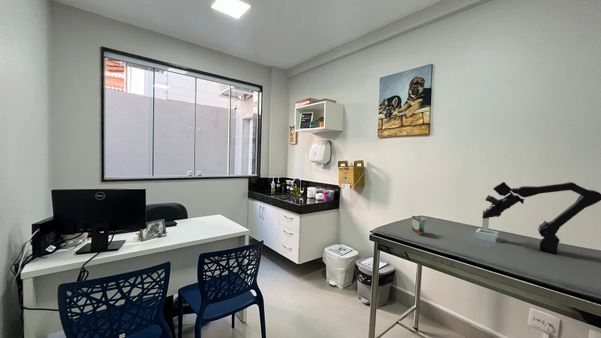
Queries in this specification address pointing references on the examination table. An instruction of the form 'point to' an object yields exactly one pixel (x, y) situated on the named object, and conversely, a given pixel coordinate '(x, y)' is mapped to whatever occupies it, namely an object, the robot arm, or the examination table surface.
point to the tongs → (485, 220)
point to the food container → (418, 225)
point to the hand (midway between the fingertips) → (483, 217)
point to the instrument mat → (480, 241)
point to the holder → (486, 235)
